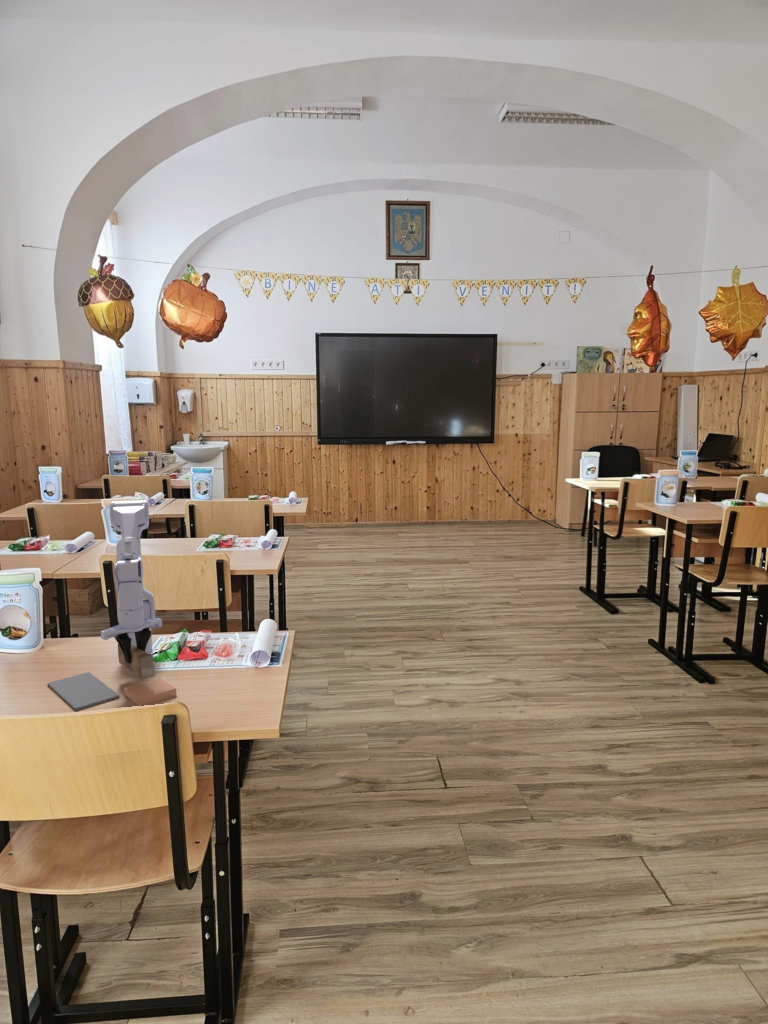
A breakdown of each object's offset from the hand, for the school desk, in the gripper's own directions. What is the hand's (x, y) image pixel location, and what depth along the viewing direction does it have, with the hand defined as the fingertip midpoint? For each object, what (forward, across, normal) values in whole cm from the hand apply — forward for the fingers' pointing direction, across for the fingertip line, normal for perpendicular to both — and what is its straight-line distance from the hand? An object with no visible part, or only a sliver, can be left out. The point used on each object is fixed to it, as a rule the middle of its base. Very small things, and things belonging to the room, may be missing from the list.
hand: (134, 660), depth 161 cm
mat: (+6, -11, +6) cm, 14 cm away
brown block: (+2, 0, 0) cm, 2 cm away
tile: (+6, 0, -4) cm, 7 cm away
